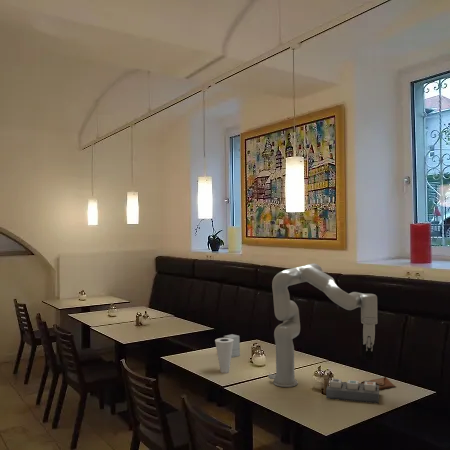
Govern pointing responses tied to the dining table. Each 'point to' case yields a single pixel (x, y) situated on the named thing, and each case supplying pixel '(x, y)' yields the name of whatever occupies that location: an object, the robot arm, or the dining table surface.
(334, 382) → the key left
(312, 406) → the dining table surface
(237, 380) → the dining table surface
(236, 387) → the dining table surface
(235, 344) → the supplement box
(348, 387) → the key mid
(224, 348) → the cup
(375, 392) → the block
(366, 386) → the key right
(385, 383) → the sunglasses case
